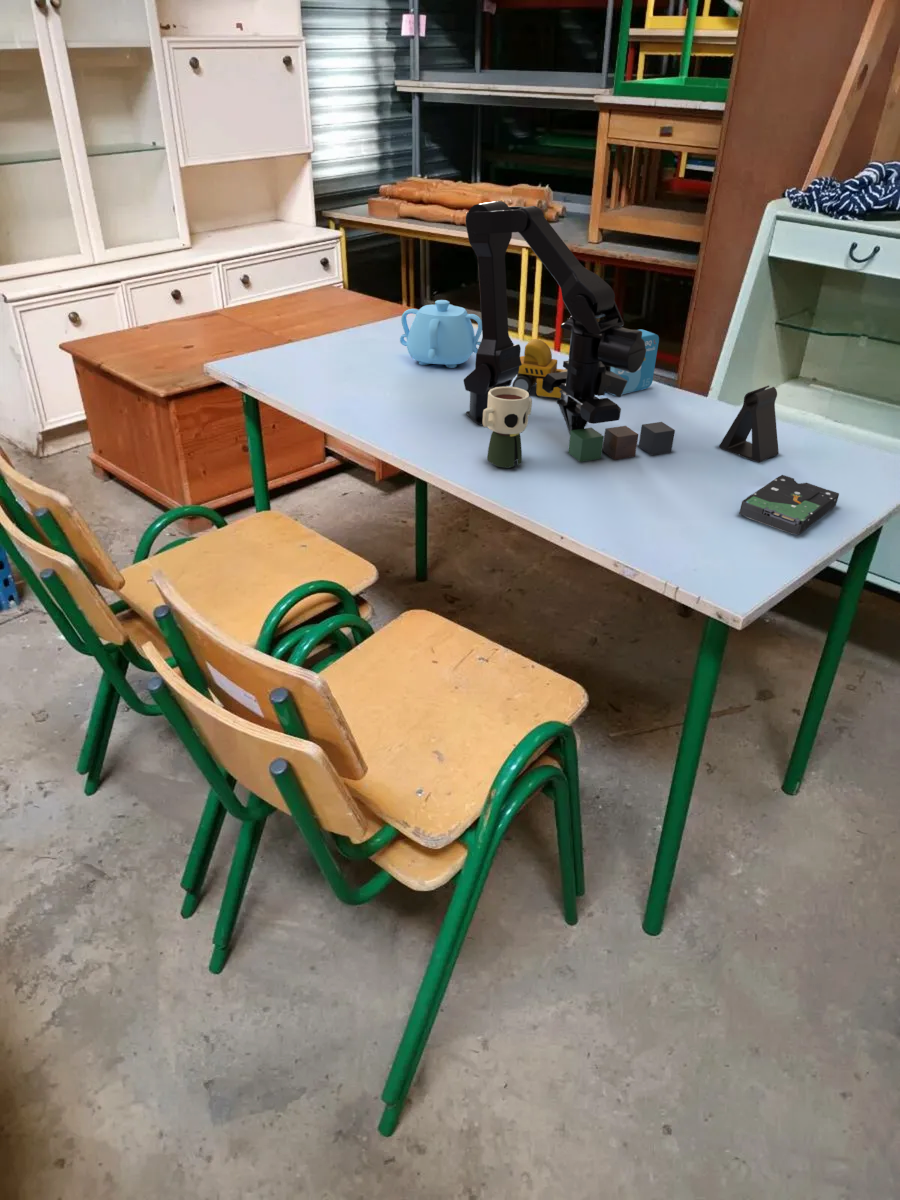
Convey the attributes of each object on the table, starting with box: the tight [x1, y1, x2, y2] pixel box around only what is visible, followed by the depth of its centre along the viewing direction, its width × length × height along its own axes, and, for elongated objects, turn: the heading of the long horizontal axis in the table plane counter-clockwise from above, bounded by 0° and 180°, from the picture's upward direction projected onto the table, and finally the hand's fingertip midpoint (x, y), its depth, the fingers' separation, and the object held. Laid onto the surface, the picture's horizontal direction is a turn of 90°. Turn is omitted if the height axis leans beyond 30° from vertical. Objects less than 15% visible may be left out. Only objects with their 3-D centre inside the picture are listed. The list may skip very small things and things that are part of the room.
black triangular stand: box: [718, 385, 780, 463], centre depth 161 cm, size 9×6×12 cm, turn 40°
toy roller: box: [512, 338, 567, 400], centre depth 186 cm, size 9×14×10 cm, turn 71°
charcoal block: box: [638, 421, 676, 456], centre depth 163 cm, size 4×4×4 cm
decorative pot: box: [399, 299, 482, 369], centre depth 201 cm, size 16×16×14 cm
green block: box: [567, 427, 604, 463], centre depth 159 cm, size 4×4×4 cm
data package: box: [609, 329, 660, 397], centre depth 188 cm, size 12×4×12 cm, turn 123°
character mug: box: [482, 386, 533, 468], centre depth 153 cm, size 11×7×13 cm, turn 128°
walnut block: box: [602, 425, 639, 461], centre depth 160 cm, size 4×4×4 cm
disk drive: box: [738, 474, 840, 536], centre depth 143 cm, size 10×3×15 cm
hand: (574, 440), depth 163 cm, fingers closed
